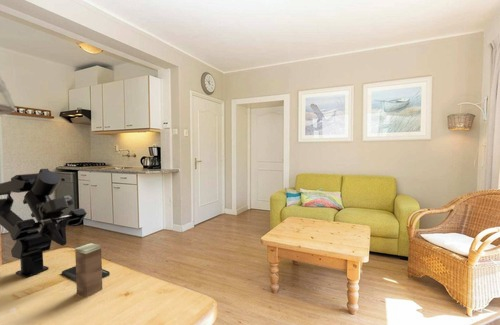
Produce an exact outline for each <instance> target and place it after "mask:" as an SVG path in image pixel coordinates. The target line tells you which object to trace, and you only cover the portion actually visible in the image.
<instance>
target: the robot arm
mask: <svg viewBox="0 0 500 325" xmlns="http://www.w3.org/2000/svg"><path fill="white" fill-rule="evenodd" d="M61 180H62V177H61V175H60V174H58V173H57V172H54V171H51V170H50V169H49V168H40V169H39V171H38V172H37V173H25V174H15V175H14V176H12V177H10V180H9V181H4V182H1V183H0V196H4V195H7V196H6V198H0V226H2V227H3V228H4V229H5V230H6V231H7V232H9V234H10V238H11V239H12V241H15V243H14V245H13V246H12V248H11V249H10V250H11V251H10V252H11V257H12V258H15V259H18V260H20V262H19V263H20V270H17V271H15V274H16V275H18V276H22V277H25V278H29V277H30V276H33V275H36V274H38V273H42V272H44V271H46V270H49V266H46V265H44V252H46V251H50V250H51V246H52V245H51V244H52V242H54V243H57V245H58V244H59V245H60V246H61V247H62V246H65V245H67V234H66V230H67V228H66V227H67V226H69V227H72V226H76V225H79V224H81V223H82V221H83V220H84V218H85V217H86V215H87V214H88V213H87V212H86V210H85V209H84V208H81V207H80V208H77V209H72V210H70V211H69V213H68V214H67V215H64V213H65V209H68V208H70V206H72V205H73V204H74V201H73V198H72V197H71V196H70V195H69V194H68V195H64V196H63V197H60V198H54V199H53V198H51V195H52V194H54V193H55V191H56V190H57V187H58V186H59V184H60V182H61ZM12 193H18V194H19V193H25V195H24V196H23V200H22V204H23V205H26V204H27V205H28V208H29V209H30V211H31V212H32V213H31V214H30V216H31V218H28V219H22V218H21V217H20V216H19V215H17V213H15V212H14V211H13V210H12V206H13V204H14V199H13V198H12V196H11V195H12ZM62 215H63V216H62ZM34 218H35V219H34ZM35 220H36V221H35Z"/></svg>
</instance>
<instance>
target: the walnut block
mask: <svg viewBox="0 0 500 325" xmlns="http://www.w3.org/2000/svg"><path fill="white" fill-rule="evenodd" d="M74 249H75V250H74V251H75V266H76V281H75V283H76V284H75V285H76V294H77V295H81V296H83V297H85V298H88V297H90V296H92V295H94V294H96V293H97V292H100V291H101V290H103V279H102V269H103V266H102V265H103V262H102V258H103V257H102V245H100V244H96V243H91V242H90V243H87V244H84V245H81V246H79V247H75V248H74Z"/></svg>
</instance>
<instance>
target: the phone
mask: <svg viewBox="0 0 500 325" xmlns="http://www.w3.org/2000/svg"><path fill="white" fill-rule="evenodd" d="M110 274H111V273H110V271H108V270H106V269H103V268H102V280H103V279H105V278H107V277H109V276H110ZM61 275H62V276H64V277H67V278H68V279H70V280H73V281H75V282H76V265H75V266H72V267H70V268H66V269H64V270H62V271H61Z"/></svg>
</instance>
